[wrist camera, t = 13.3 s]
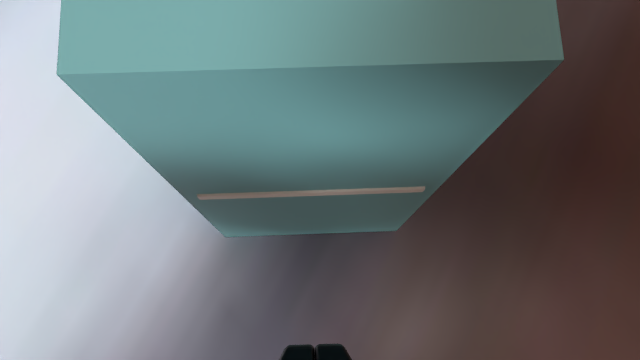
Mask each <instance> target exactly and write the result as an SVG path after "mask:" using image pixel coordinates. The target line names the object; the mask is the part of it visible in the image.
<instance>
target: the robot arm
mask: <svg viewBox="0 0 640 360" xmlns="http://www.w3.org/2000/svg"><path fill="white" fill-rule="evenodd" d="M279 360H352V359H351V357H350V356H349V354H348V352H347V350H346V349H345V347H344V346H343V345H341V344H319V345H317V346H316V347H315V354H314V347H313V346H312V345H289V346H287V347H286V348H285V349H284V351H283V353H282V355H281V357H280V359H279Z"/></svg>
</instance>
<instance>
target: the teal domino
mask: <svg viewBox="0 0 640 360" xmlns="http://www.w3.org/2000/svg"><path fill="white" fill-rule="evenodd" d="M563 60H564V55H563V48H562V40H561V33H560V26H559V19H558V11H557V4H556V0H61V14H60V30H59V46H58V62H57V75H58V76H59V77H60V78H61V79H62V80H63V81H64V82H65V83H66V84H67V85H68V86H69V87H70V88H71V89H72V90H73V91H74V92H75V93H76V94H77V95H78V96H79V97H80V98H81V99H83V100H84V101H85V102H86V103H87V104H88V105H89V106H90V107H91V108H92V109H93V110H94V111H95V112H96V113H97V114H98V115H99V116H100V117H101V118H102V119H103V120H104V121H105V122H106V123H107V124H108V125H110V126H111V127H112V128H113V129H114V130H115V131H116V132H117V133H118V134H119V135H120V136H121V137H122V138H123V139H124V140H125V141H126V142H127V143H128V144H129V145H130V146H131V147H132V148H133V149H134V150H135V151H137V152H138V153H139V154H140V155H141V156H142V157H143V158H144V159H145V160H146V161H147V162H148V163H149V164H150V165H151V166H152V167H153V168H154V169H155V170H156V171H157V172H158V173H159V174H160V175H161V176H162V177H164V178H165V179H166V180H167V181H168V182H169V183H170V184H171V185H172V186H173V187H174V188H175V189H176V190H177V191H178V192H179V193H180V194H181V195H182V196H183V197H184V198H185V199H186V200H187V201H188V202H189V203H191V204H192V205H193V206H194V207H195V208H196V209H197V210H198V211H199V212H200V213H201V214H202V215H203V216H204V217H205V218H206V219H207V220H208V221H209V222H210V223H211V224H212V225H213V226H214V227H215V228H216V229H218V230H219V231H220V232H221V233H222V234H223V235H224V236H225V237H240V236H268V235H296V234H324V233H352V232H379V231H397V230H398V229H399V228H400V227H401V226H402V225H403V224H404V223H405V222H406V221H407V220H408V219H409V217H410V216H411V215H412V214H413V213H414V212H415V211H416V210H417V209H418V208H419V207H420V206H421V205H422V204H423V203H424V202H425V201H426V200H427V199H428V198H429V197H430V196H431V195H432V194H433V193H434V192H435V191H436V190H437V189H438V188H439V187H440V186H441V185H442V184H443V183H444V182H445V181H446V180H447V179H448V178H449V177H450V176H451V175H452V174H453V173H454V172H455V171H456V170H457V169H458V168H459V167H460V165H461V164H462V163H463V162H464V161H465V160H466V159H467V158H468V157H469V156H470V155H471V154H472V153H473V152H474V151H475V150H476V149H477V148H478V147H479V146H480V145H481V144H482V143H483V142H484V141H485V140H486V139H487V138H488V137H489V136H490V135H491V134H492V133H493V132H494V131H495V130H496V129H497V128H498V127H499V126H500V125H501V124H502V123H503V122H504V121H505V120H506V119H507V118H508V117H509V116H510V115H511V113H512V112H513V111H514V110H515V109H516V108H517V107H518V106H519V105H520V104H521V103H522V102H523V101H524V100H525V99H526V98H527V97H528V96H529V95H530V94H531V93H532V92H533V91H534V90H535V89H536V88H537V87H538V86H539V85H540V84H541V83H542V82H543V81H544V80H545V79H546V78H547V77H548V76H549V75H550V74H551V73H552V72H553V71H554V70H555V69H556V68H557V67H558V66H559V65H560V64H561V63H562V61H563Z"/></svg>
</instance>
